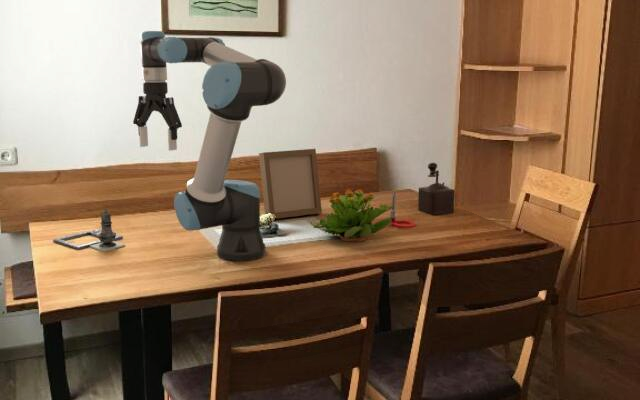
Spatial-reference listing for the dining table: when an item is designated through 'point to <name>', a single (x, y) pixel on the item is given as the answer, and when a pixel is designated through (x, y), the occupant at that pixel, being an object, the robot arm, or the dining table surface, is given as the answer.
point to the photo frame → (290, 183)
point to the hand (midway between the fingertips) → (158, 148)
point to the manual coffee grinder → (436, 196)
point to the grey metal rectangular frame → (92, 232)
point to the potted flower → (353, 217)
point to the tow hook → (394, 221)
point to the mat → (118, 245)
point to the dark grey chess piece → (106, 231)
